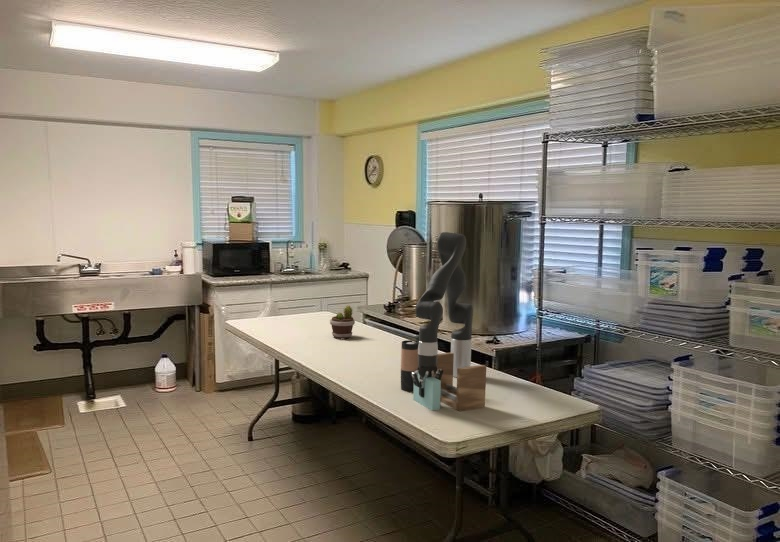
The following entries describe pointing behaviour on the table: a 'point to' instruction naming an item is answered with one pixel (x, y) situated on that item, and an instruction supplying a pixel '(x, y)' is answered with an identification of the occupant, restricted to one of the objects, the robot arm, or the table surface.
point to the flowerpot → (343, 324)
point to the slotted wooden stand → (461, 384)
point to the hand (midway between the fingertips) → (426, 396)
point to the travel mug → (408, 364)
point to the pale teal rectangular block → (429, 393)
